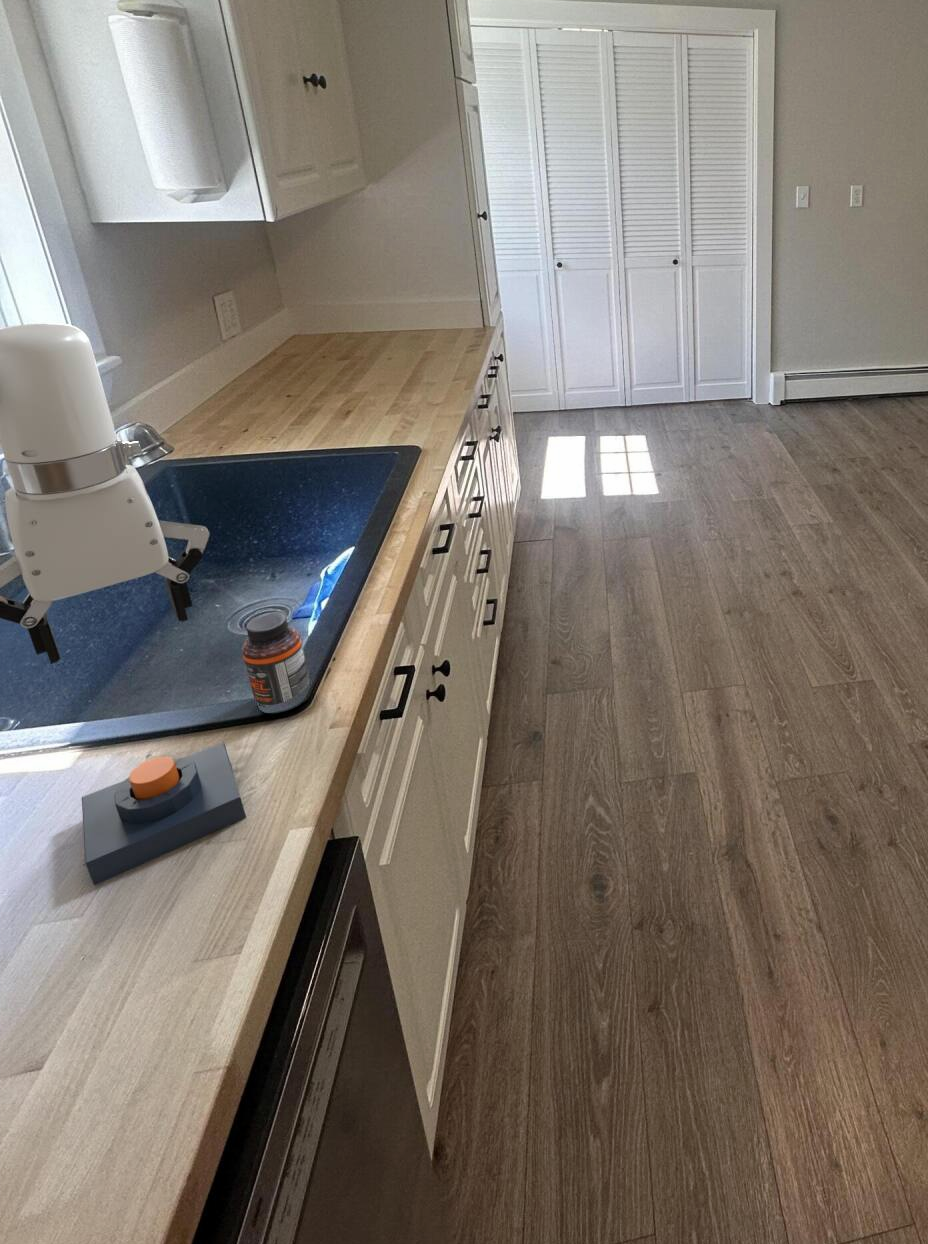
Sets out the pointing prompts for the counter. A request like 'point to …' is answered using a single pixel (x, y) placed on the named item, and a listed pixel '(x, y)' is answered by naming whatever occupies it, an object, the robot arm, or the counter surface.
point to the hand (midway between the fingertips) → (120, 634)
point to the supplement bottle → (274, 659)
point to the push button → (154, 777)
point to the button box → (159, 815)
